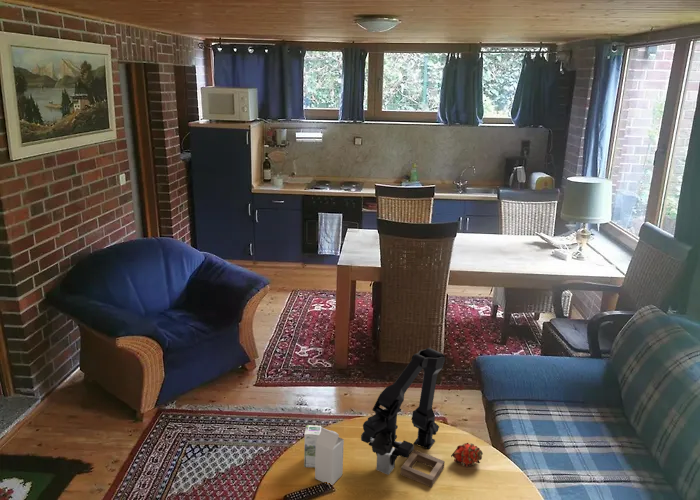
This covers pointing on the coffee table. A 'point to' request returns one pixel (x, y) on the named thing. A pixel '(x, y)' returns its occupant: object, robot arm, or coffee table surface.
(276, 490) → the coffee table surface
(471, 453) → the dragon fruit
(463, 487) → the coffee table surface
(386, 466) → the rectangular block
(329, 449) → the milk carton
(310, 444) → the syrup box
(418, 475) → the well block
